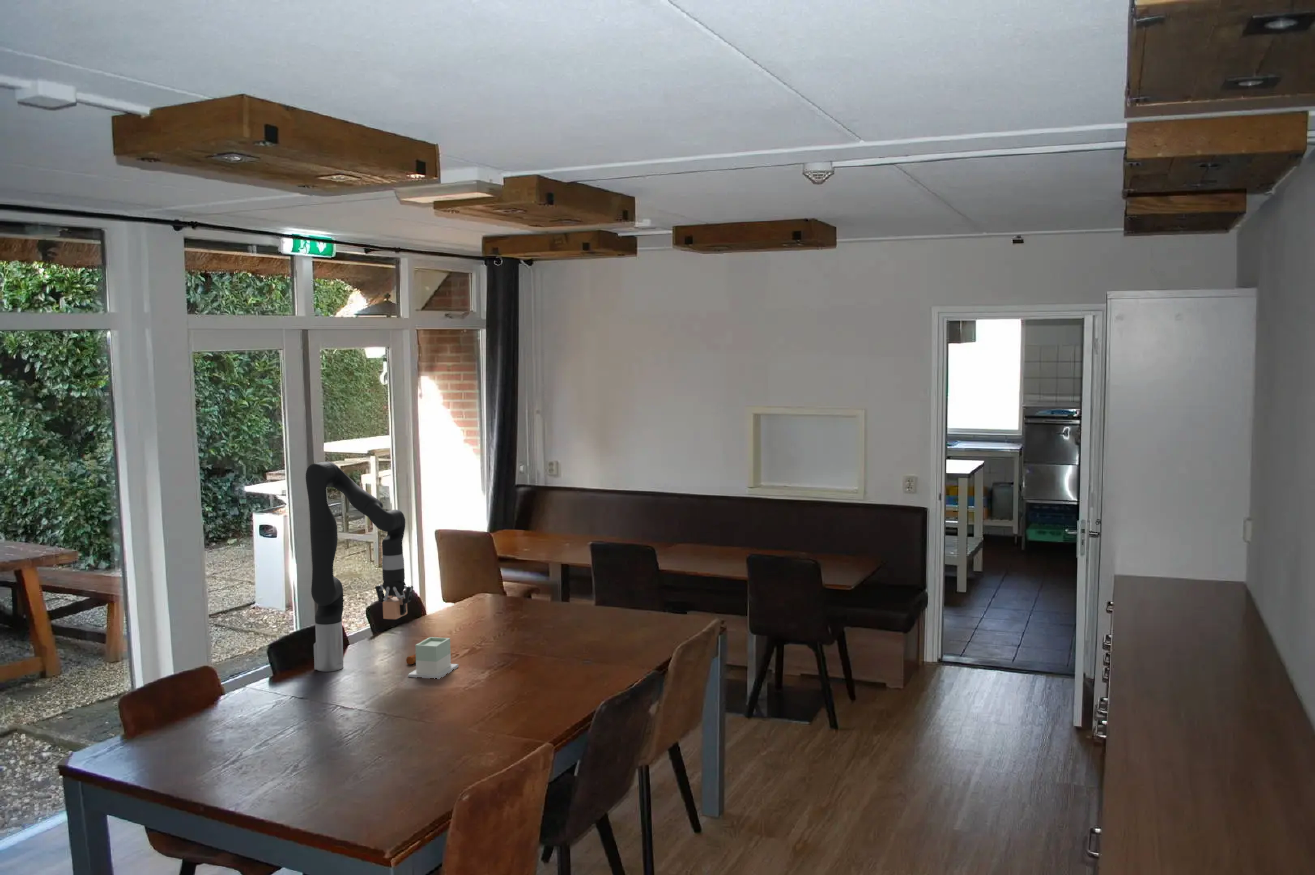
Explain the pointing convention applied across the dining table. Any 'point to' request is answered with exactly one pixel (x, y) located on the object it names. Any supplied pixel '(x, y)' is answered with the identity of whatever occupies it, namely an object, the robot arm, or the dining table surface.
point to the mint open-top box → (433, 658)
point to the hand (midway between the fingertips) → (395, 614)
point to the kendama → (411, 659)
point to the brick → (392, 609)
